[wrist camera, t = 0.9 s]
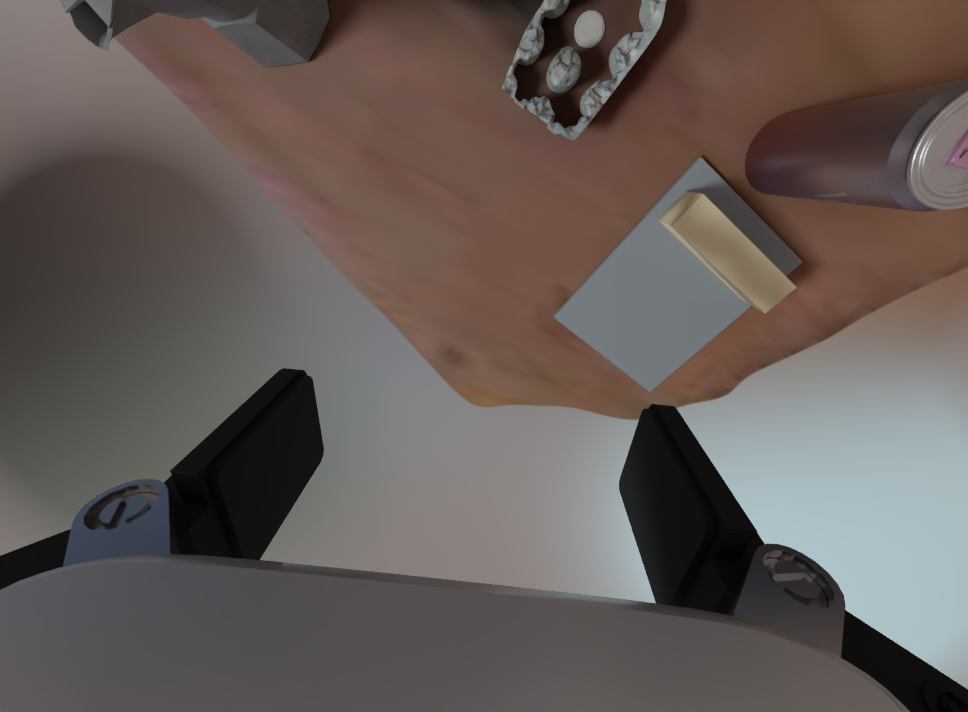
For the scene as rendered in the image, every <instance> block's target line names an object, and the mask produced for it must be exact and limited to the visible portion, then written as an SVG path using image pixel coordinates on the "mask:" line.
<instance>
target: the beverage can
mask: <svg viewBox="0 0 968 712" xmlns="http://www.w3.org/2000/svg"><path fill="white" fill-rule="evenodd" d="M745 173H746V177H747V180H748V182H749V183H750V185H751V186H752V187H753V188H754V189H755V190H757V191H759V192H761V193H764V194H769V195H778V196H786V197H795V198H804V199H813V200H822V201H831V202H839V203H848V204H857V205H866V206H875V207H884V208H893V209H901V210H910V211H920V212H929V211H936V210H953V209H960V208H964V207H968V79H963V80H958V81H953V82H947V83H942V84H937V85H931V86H926V87H921V88H915V89H910V90H905V91H899V92H894V93H889V94H883V95H878V96H873V97H867V98H862V99H857V100H851V101H846V102H841V103H835V104H830V105H825V106H819V107H814V108H809V109H803V110H798V111H793V112H788V113H785V114H782V115H780V116H778V117H776V118H774V119H773V120H771V121H770V122H769V123H767V124H766V125H765V126H764V127H763V128H762V129H761V130H760V131H759V132H758V134H757V135H756V136H755V138H754V139H753V141H752V143H751V144H750V146H749V149H748V151H747V154H746V159H745Z"/></svg>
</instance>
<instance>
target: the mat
mask: <svg viewBox="0 0 968 712" xmlns="http://www.w3.org/2000/svg"><path fill="white" fill-rule="evenodd" d="M684 191H687V192H694V193H701V194H704V195H705V196H706V197H707V198H708V199H709V200H710V201H711V202H712V203H713V204H714V205H715V206H716V207H717V208H718V209H719V210H720V211H721V212H722V213H723V214H724V215H725V216H726V217H727V218H728V219H729V220H730V221H731V222H732V223H733V224H734V225H735V226H736V227H737V228H738V229H739V230H740V231H741V232H742V233H743V234H744V235H745V236H746V237H747V238H748V239H749V240H750V241H751V242H752V243H753V244H754V245H755V246H756V247H757V248H758V249H759V250H760V251H761V252H762V253H763V254H764V255H765V256H766V257H767V258H768V259H769V260H770V261H771V262H772V263H773V264H774V265H775V266H776V267H777V268H778V269H779V270H780V271H781V272H782V273H783V274H784V275H785V276H787V275H788V274H789V273H790V272H792V271H793V270H794V269H795V268H796V267H798V266H799V265H800V264H801V263H802V261H801V259H800V258H799V257H798V256H797V255H796V254H795V253H794V252H793V251H792V250H791V249H790V248H789V247H788V246H787V245H786V244H785V243H784V242H783V241H782V240H781V239H780V238H779V237H778V236H777V235H776V234H775V233H774V232H773V231H772V230H771V229H770V228H769V226H768V225H767V224H766V223H765V222H764V221H763V220H762V219H761V218H760V217H759V216H758V215H757V214H756V213H755V212H754V211H753V210H752V209H751V208H750V207H749V206H748V205H747V204H746V203H745V202H744V201H743V200H742V199H741V198H740V197H739V196H738V195H737V194H736V192H735V191H734V190H733V189H732V188H731V187H730V186H729V185H728V184H727V183H726V182H725V181H724V180H723V179H722V178H721V177H720V176H719V175H718V174H717V173H716V172H715V171H714V170H713V169H712V168H711V167H710V166H709V165H708V164H707V163H706V162H705V161H704V159H703V158H702V157H698V159H697V160H696V161H695V162H694V163H693V164H692V165H691V166H690V167H689V168H688V169H687V171H686V172H685V173H684V174H683V175H682V176H681V177H680V178H679V179H678V180H677V181H676V183H675V184H674V185H673V186H672V187H671V188H670V189H669V190H668V191H667V192H666V193H665V195H664V196H663V197H662V198H661V199H660V200H659V201H658V202H657V203H656V204H655V205H654V207H653V208H652V209H651V210H650V211H649V212H648V213H647V214H646V215H645V216H644V217H643V219H642V220H641V221H640V222H639V223H638V224H637V225H636V226H635V227H634V228H633V229H632V231H631V232H630V233H629V234H628V235H627V236H626V237H625V238H624V239H623V240H622V241H621V243H620V244H619V245H618V246H617V247H616V248H615V249H614V250H613V251H612V252H611V253H610V255H609V256H608V257H607V258H606V259H605V260H604V261H603V262H602V263H601V264H600V265H599V267H598V268H597V269H596V270H595V271H594V272H593V273H592V274H591V275H590V276H589V277H588V279H587V280H586V281H585V282H584V283H583V284H582V285H581V286H580V287H579V288H578V289H577V291H576V292H575V293H574V294H573V295H572V296H571V297H570V298H569V299H568V300H567V301H566V303H565V304H564V305H563V306H562V307H561V308H560V309H559V310H558V311H557V312H556V313H555V315H554V316H553V317H554V318H555V319H557V320H558V321H559V322H560V323H562V324H563V325H564V326H566V327H567V328H568V329H569V330H571V331H572V332H573V333H575V334H576V335H577V336H578V337H580V338H581V339H582V340H584V341H585V342H586V343H587V344H589V345H590V346H591V347H592V348H594V349H595V350H596V351H598V352H599V353H600V354H601V355H603V356H604V357H605V358H607V359H608V360H609V361H610V362H612V363H613V364H614V365H616V366H617V367H618V368H619V369H621V370H622V371H623V372H625V373H626V374H627V375H628V376H630V377H631V378H632V379H634V380H635V381H636V382H637V383H639V384H640V385H641V386H643V387H644V388H645V389H646V390H648V391H649V392H651V391H652V390H653V389H654V388H656V387H657V386H658V385H659V384H660V383H661V382H663V381H664V380H665V379H666V378H667V377H668V376H670V375H671V374H672V373H673V372H674V371H676V370H677V369H678V368H679V367H680V366H681V365H683V364H684V363H685V362H686V361H687V360H688V359H690V358H691V357H692V356H693V355H694V354H695V353H697V352H698V351H699V350H700V349H701V348H703V347H704V346H705V345H706V344H707V343H708V342H710V341H711V340H712V339H713V338H714V337H715V336H717V335H718V334H719V333H720V332H721V331H722V330H724V329H725V328H726V327H727V326H728V325H729V324H731V323H732V322H733V321H734V320H735V319H737V318H738V317H739V316H740V315H741V314H742V313H744V312H745V311H746V310H747V309H748V308H749V307H751V306H752V305H750V304H748V303H746V302H745V301H743V300H742V299H741V298H740V297H739V296H738V295H737V294H736V293H735V292H733V291H732V290H731V289H730V288H729V287H728V286H727V285H726V284H725V283H724V282H723V281H722V280H721V279H720V278H719V277H717V276H716V275H715V274H714V273H713V272H712V271H711V270H710V269H709V268H708V267H707V266H706V265H705V264H704V263H702V262H701V261H700V260H699V259H698V258H697V257H696V256H695V255H694V254H693V253H692V252H691V251H690V250H689V249H688V248H686V247H685V246H684V245H683V244H682V243H681V242H680V241H679V240H678V239H677V238H676V237H675V236H674V235H673V234H671V233H670V232H669V231H668V230H667V229H666V228H665V227H664V226H663V225H662V224H661V223H660V222H659V221H658V219H659V218H660V217H661V216H662V215H663V214H664V213H665V212H666V211H667V210H668V208H669V207H670V206H671V205H672V204H673V203H674V202H675V201H676V200H677V199H678V198H679V197H680V196H681V195H682V193H683V192H684Z"/></svg>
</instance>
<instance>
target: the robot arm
mask: <svg viewBox="0 0 968 712" xmlns="http://www.w3.org/2000/svg"><path fill="white" fill-rule="evenodd" d="M323 451H324V448H323V442H322V435H321V429H320V423H319V416H318V410H317V404H316V399H315V391H314V385H313V380H312V378H311V377H310V376H307V374H306V372H305V371H304V370H295V369H285V368H284V369H281V370H279V371H278V372H277V373H276V374H275V375H274V376H273V377H272V378H271V379H269V381H267V382H266V383H265V384H264V385H263V386H262V387H261V388H260V389H259V390H258V391H256V392H255V393H254V394H253V395H252V396H251V397H250V398H249V399H248V400H247V401H246V402H245V403H244V404H242V405H241V406H240V407H239V408H238V409H237V410H236V411H235V412H234V413H233V414H231V415H230V416H229V417H228V418H227V419H226V420H225V421H224V422H223V423H222V424H221V425H220V426H218V427H217V428H216V429H215V430H214V431H213V432H212V433H211V434H210V435H209V436H208V437H206V438H205V439H204V440H203V441H202V442H201V443H200V444H199V445H198V446H197V447H196V448H195V449H193V450H192V451H191V452H190V453H189V454H188V455H187V456H186V457H185V458H184V459H183V460H182V461H180V462H179V463H178V464H177V465H176V466H175V467H174V468H173V469H172V470H171V471H170V472H171V474H172V476H171V477H170V478H169V479H167V480H166V481H165V482H164V483H163V482H161V481H160V480H154V479H139V480H135V481H130V482H126V483H123V484H120V485H118V486H115V487H112V488H110V489H108V490H106V491H105V492H103V493H101V494H99V495H97V496H96V497H94V498H93V499H92V500H90V501H89V502H88V503H87V504H85V505H84V506H83V507H82V508H81V510H79V512H78V513H77V514H76V516H75V518H74V520H73V522H72V527H71V529H70V530H67V531H64V532H62V533H59V534H57V535H54V536H51V537H49V538H46V539H43V540H41V541H38V542H35V543H33V544H30V545H28V546H25V547H23V548H20V549H17V550H15V551H12V552H9V553H7V554H4V555H1V556H0V712H968V689H966V688H965V687H963V686H961V685H960V684H958V683H957V682H955V681H953V680H952V679H951V678H949V677H948V676H946V675H944V674H943V673H941V672H940V671H938V670H937V669H935V668H934V667H932V666H931V665H929V664H928V663H926V662H924V661H923V660H921V659H920V658H918V657H917V656H915V655H914V654H912V653H910V652H909V651H907V650H906V649H904V648H903V647H901V646H900V645H898V644H897V643H895V642H894V641H892V640H890V639H889V638H887V637H886V636H884V635H883V634H881V633H880V632H878V631H877V630H875V629H873V628H872V627H870V626H869V625H867V624H865V623H864V622H863V621H861V620H860V619H858V618H856V617H855V616H853V615H852V614H850V613H849V612H847V611H846V610H845V600H844V595H843V593H842V591H841V590H840V588H839V586H838V584H837V583H836V582H835V581H834V579H833V578H832V577H831V576H830V575H829V573H828V572H826V570H824V569H823V568H822V567H821V566H820V565H818V564H817V563H816V562H815V561H813V560H812V559H810V558H809V557H807V556H805V555H804V554H803V553H800V552H798V551H796V550H794V549H792V548H790V547H786V546H783V545H779V544H764V543H763V541H762V540H761V538H760V537H759V535H758V533H757V531H756V529H755V527H754V526H753V524H752V523H751V521H750V520H749V518H748V517H747V515H746V514H745V512H744V511H743V509H742V508H741V506H740V505H739V503H738V502H737V500H736V499H735V497H734V496H733V494H732V492H731V491H730V489H729V488H728V486H727V485H726V484H725V482H724V480H723V479H722V477H721V476H720V474H719V473H718V471H717V470H716V468H715V467H714V465H713V464H712V462H711V461H710V459H709V457H708V456H707V454H706V453H705V451H704V450H703V448H702V447H701V445H700V444H699V442H698V441H697V439H696V438H695V436H694V435H693V433H692V432H691V430H690V429H689V427H688V426H687V424H686V422H685V421H684V419H683V418H682V416H681V415H680V413H679V412H678V411H677V409H676V408H675V407H674V406H667V405H656V404H652V405H651V406H650V407H649V409H644V410H643V411H642V413H641V416H640V419H639V422H638V425H637V428H636V431H635V434H634V437H633V440H632V443H631V446H630V450H629V452H628V456H627V459H626V462H625V465H624V468H623V471H622V474H621V477H620V481H619V489H620V494H621V496H622V500H623V503H624V506H625V509H626V512H627V515H628V518H629V521H630V524H631V527H632V531H633V534H634V537H635V540H636V543H637V546H638V549H639V552H640V555H641V558H642V561H643V564H644V567H645V570H646V574H647V576H648V580H649V583H650V586H651V589H652V592H653V595H654V598H655V601H656V604H655V603H647V602H640V601H632V600H625V599H617V598H608V597H599V596H589V595H581V594H573V593H564V592H555V591H546V590H538V589H529V588H528V589H527V588H520V587H511V586H501V585H493V584H484V583H475V582H465V581H456V580H447V579H438V578H428V577H419V576H410V575H400V574H391V573H382V572H372V571H362V570H352V569H343V568H333V567H323V566H314V565H303V564H294V563H284V562H274V561H263V560H260V558H261V557H262V555H263V553H264V552H265V550H266V549H267V547H268V545H269V544H270V542H271V541H272V539H273V537H274V536H275V534H276V532H277V531H278V529H279V528H280V526H281V524H282V523H283V521H284V520H285V518H286V517H287V515H288V513H289V512H290V510H291V509H292V507H293V505H294V503H295V502H296V501H297V499H298V497H299V496H300V494H301V493H302V491H303V489H304V488H305V486H306V484H307V483H308V481H309V480H310V478H311V476H312V475H313V473H314V472H315V470H316V468H317V467H318V465H319V464H320V462H321V460H322V457H323Z"/></svg>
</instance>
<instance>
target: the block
mask: <svg viewBox="0 0 968 712" xmlns="http://www.w3.org/2000/svg"><path fill="white" fill-rule="evenodd" d="M658 221H659V222H660V223H661V224H662V225H663V226H664V227H665V228H666V229H667V230H668V231H669V232H670V233H671V234H673V235H674V236H675V237H676V238H677V239H678V240H679V241H680V242H681V243H682V244H683V245H684V246H685V247H686V248H688V249H689V250H690V251H691V252H692V253H693V254H694V255H695V256H696V257H697V258H698V259H699V260H700V261H701V262H702V263H704V264H705V265H706V266H707V267H708V268H709V269H710V270H711V271H712V272H713V273H714V274H715V275H716V276H717V277H719V278H720V279H721V280H722V281H723V282H724V283H725V284H726V285H727V286H728V287H729V288H730V289H731V290H732V291H733V292H735V293H736V294H737V295H738V296H739V297H740V298H741V299H742V300H743V301H745V302H746V303H748V304H750V305H752V306H753V307H755V308H757V309H759V310H760V311H762V312H764V313H767V312H768V311H769V310H770V309H771V308H773V307H774V306H775V305H776V304H777V303H779V302H780V301H781V300H782V299H784V298H785V297H786V296H787V295H788V294H790V293H791V292H792V291H793V290H794V289H796V288H797V287H796V286H795V285H794V284H793V283H792V282H791V281H790V280H789V279H788V278H787V277H786V276H785V275H784V274H783V273H782V272H781V271H780V270H779V269H778V268H777V267H776V266H775V265H774V264H773V263H772V262H771V261H770V260H769V259H768V258H767V257H766V256H765V255H764V254H763V253H762V252H761V251H760V250H759V249H758V248H757V247H756V246H755V245H754V244H753V243H752V242H751V241H750V240H749V239H748V238H747V237H746V236H745V235H744V234H743V233H742V232H741V231H740V230H739V229H738V228H737V227H736V226H735V225H734V224H733V223H732V222H731V221H730V220H729V219H728V218H727V217H726V216H725V215H724V214H723V213H722V212H721V211H720V210H719V209H718V208H717V207H716V206H715V205H714V204H713V203H712V202H711V201H710V200H709V199H708V198H707V197H706V196H705V195H704V194H701V193H694V192H687V191H684V192H683V193H682V195H681V196H680V197H679V198H678V199H677V200H676V201H675V202H674V203H673V204H672V205H671V206H670V207H669V208H668V210H667V211H666V212H665V213H664V214H663V215H662V216H661V217H660V218H659V219H658Z"/></svg>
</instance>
